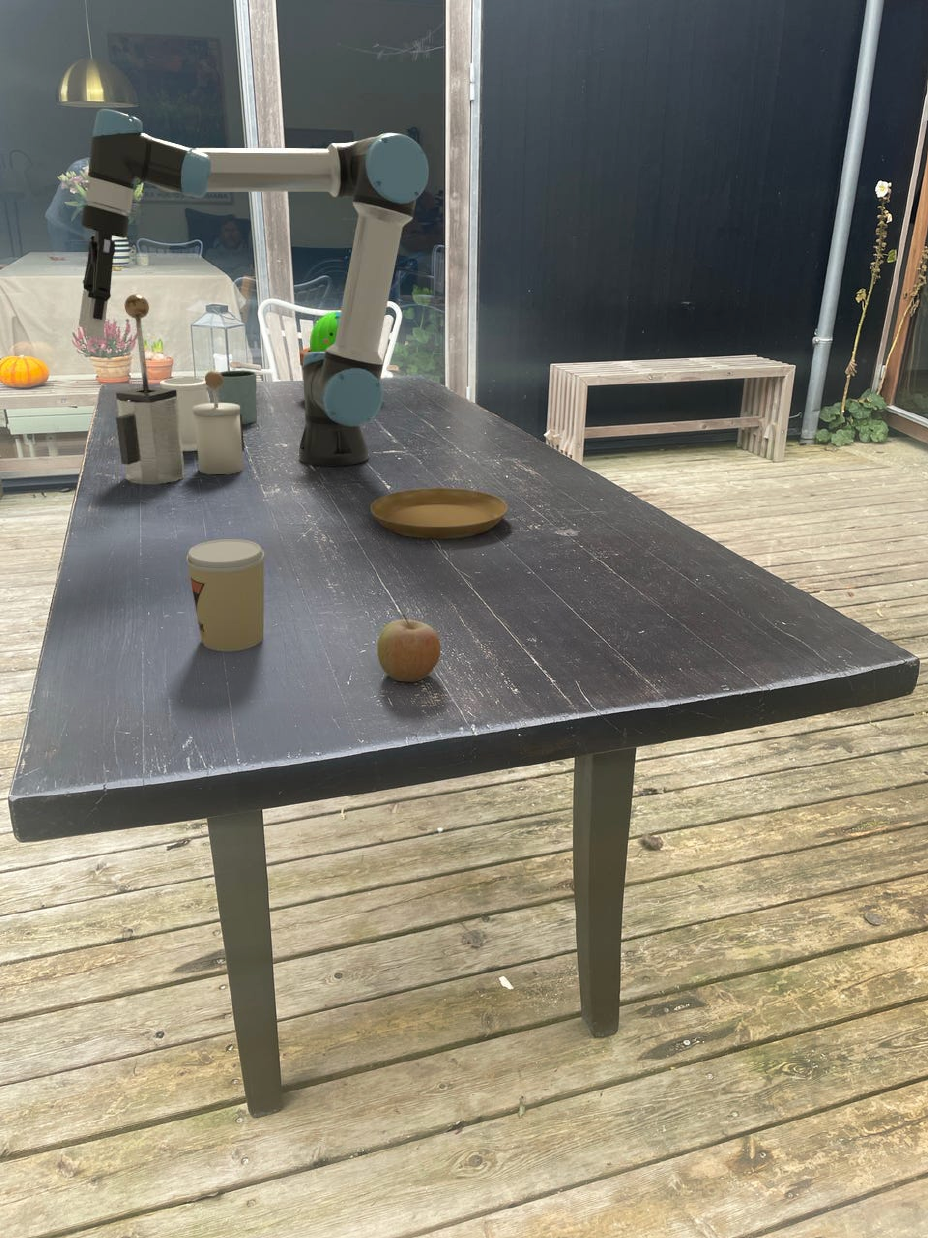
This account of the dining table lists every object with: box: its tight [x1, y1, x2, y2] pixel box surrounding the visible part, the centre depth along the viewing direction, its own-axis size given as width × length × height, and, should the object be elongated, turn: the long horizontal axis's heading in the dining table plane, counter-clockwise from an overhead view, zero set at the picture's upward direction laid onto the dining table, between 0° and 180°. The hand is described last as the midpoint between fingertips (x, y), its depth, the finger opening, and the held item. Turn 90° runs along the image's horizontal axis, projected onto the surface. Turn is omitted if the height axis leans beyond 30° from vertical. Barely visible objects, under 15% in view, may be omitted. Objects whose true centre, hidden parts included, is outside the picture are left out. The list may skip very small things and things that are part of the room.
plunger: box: [124, 294, 161, 402], centre depth 184 cm, size 8×8×21 cm
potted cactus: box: [299, 309, 341, 367], centre depth 270 cm, size 22×22×25 cm
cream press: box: [193, 370, 245, 475], centre depth 197 cm, size 9×12×20 cm
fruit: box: [376, 612, 441, 683], centre depth 111 cm, size 8×7×8 cm
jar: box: [160, 377, 211, 452], centre depth 214 cm, size 11×10×15 cm
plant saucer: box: [369, 487, 508, 540], centre depth 169 cm, size 24×24×3 cm
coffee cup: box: [185, 538, 265, 653], centre depth 119 cm, size 9×9×12 cm
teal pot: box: [217, 369, 258, 425], centre depth 243 cm, size 10×10×12 cm
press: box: [115, 386, 186, 485], centre depth 189 cm, size 11×14×17 cm
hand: (90, 332), depth 172 cm, fingers open, 13 cm apart
